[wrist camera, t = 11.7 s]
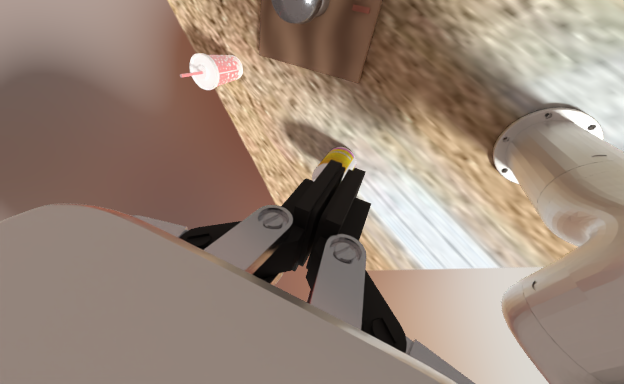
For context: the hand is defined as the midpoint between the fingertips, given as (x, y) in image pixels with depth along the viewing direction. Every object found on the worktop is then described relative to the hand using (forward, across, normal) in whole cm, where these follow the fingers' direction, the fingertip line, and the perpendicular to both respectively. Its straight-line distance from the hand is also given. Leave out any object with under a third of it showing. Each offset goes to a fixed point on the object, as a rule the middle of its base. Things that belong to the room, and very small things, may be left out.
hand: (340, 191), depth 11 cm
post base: (+37, +17, -8) cm, 42 cm away
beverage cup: (+37, +34, +6) cm, 51 cm away
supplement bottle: (+37, +6, +18) cm, 42 cm away
